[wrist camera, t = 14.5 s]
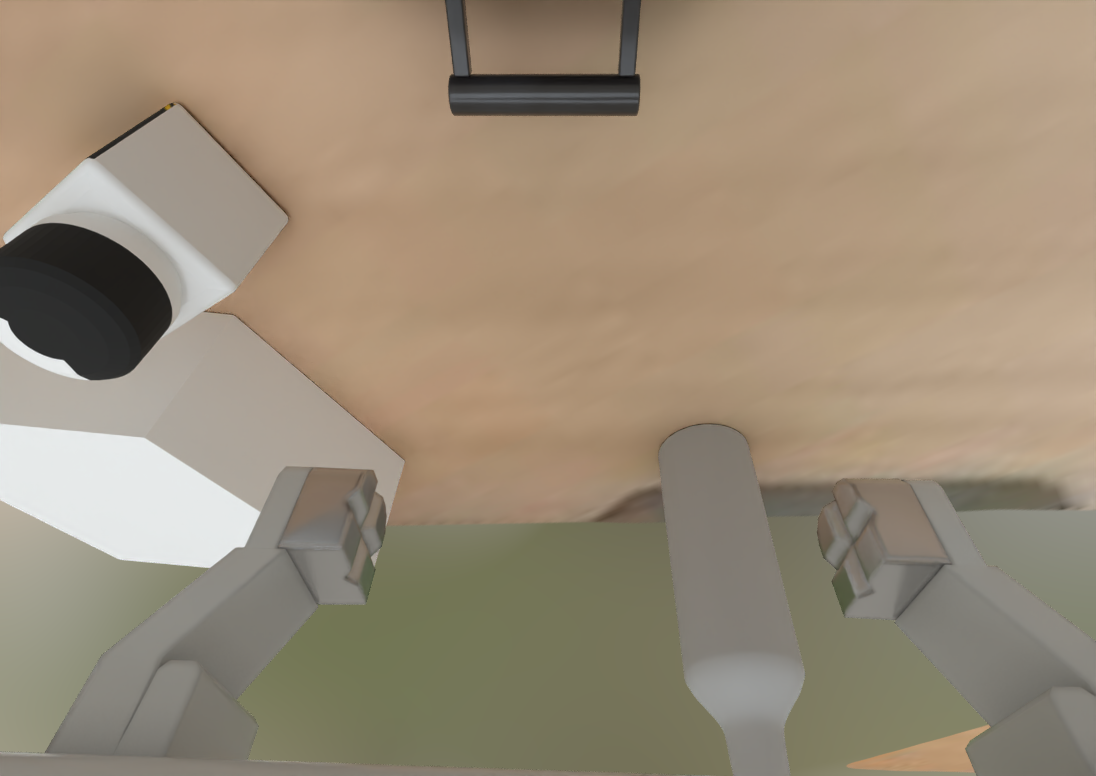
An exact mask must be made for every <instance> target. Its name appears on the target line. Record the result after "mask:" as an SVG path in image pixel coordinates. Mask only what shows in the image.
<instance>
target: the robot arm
mask: <svg viewBox="0 0 1096 776" xmlns="http://www.w3.org/2000/svg"><path fill="white" fill-rule="evenodd" d="M377 483H378V480H377V478H376V475H375V472H374V470H367V469H345V468H323V467H295V466H286V467H285V468H284V469H283V470H282V471H281V472H280V473H279V474H278V476H277V479H276V481H275V483H274V485H273V487H272V489H271V491H270V493H269V496H268V498H267V500H266V502H265V504H264V506H263V508H262V511H261V513H260V515H259V517H258V519H257V521H256V523H255V526H254V528H253V530H252V532H251V534H250V536H249V538H248V540H247V543H246V545H245V547H236V548H234V549H233V550H232V551H231V552H229V553H228V554H227V555H226V556H224V557H223V558H222V559H221V560H219V561H218V562H217V563H216V564H214V565H213V566H212V567H211V568H209V569H208V570H207V571H206V572H204V573H203V574H202V575H201V576H199V577H198V578H197V579H196V580H194V581H193V582H192V583H191V584H190V585H188V586H187V587H186V588H184V589H183V590H182V591H181V592H180V593H178V594H177V595H176V596H175V597H173V598H172V599H171V600H169V601H168V602H167V603H166V604H165V605H163V606H162V607H161V608H160V609H158V610H157V611H156V612H155V613H153V614H152V615H151V616H150V617H148V618H147V619H146V620H145V621H143V622H142V623H141V624H140V625H138V626H137V627H136V628H135V629H133V630H132V631H131V632H130V633H128V634H127V635H126V636H125V637H123V638H122V639H121V640H120V641H118V642H117V643H116V644H115V645H113V646H112V647H111V648H110V649H108V650H107V651H106V652H105V653H103V654H102V655H101V657H100V658H99V660H98V662H97V664H96V665H95V667H94V669H93V670H92V672H91V674H90V676H89V677H88V679H87V681H86V683H85V684H84V686H83V688H82V689H81V691H80V693H79V694H78V696H77V698H76V700H75V701H74V703H73V705H72V707H71V708H70V710H69V712H68V713H67V715H66V717H65V719H64V720H63V722H62V724H61V726H60V727H59V729H58V731H57V732H56V734H55V736H54V738H53V739H52V741H51V743H50V745H49V746H48V748H47V750H46V751H45V753H32V752H2V751H0V776H705V775H677V774H648V773H619V772H618V773H617V772H590V771H561V770H531V769H530V770H529V769H502V768H501V769H500V768H473V767H443V766H413V765H384V764H383V765H382V764H355V763H325V762H296V761H266V760H265V761H264V760H248V756H249V754H250V751H251V748H252V745H253V742H254V739H255V736H256V733H257V730H258V727H259V726H258V724H257V722H256V719H255V718H254V717H253V716H252V715H251V714H250V713H249V712H248V711H247V710H246V709H245V708H244V707H243V706H242V705H241V704H240V703H239V702H238V701H237V699H238V697H239V696H240V695H241V694H242V693H243V692H244V691H245V690H246V688H247V687H248V686H249V685H250V684H251V683H252V682H253V681H254V679H255V678H256V677H257V676H258V675H259V674H260V673H261V672H262V670H263V669H264V668H265V667H266V666H267V665H268V663H269V662H270V661H271V660H272V659H273V658H274V657H275V656H276V655H277V653H278V652H279V651H280V650H281V649H282V648H283V647H284V646H285V644H286V643H287V642H288V641H289V640H290V639H291V638H292V636H293V635H294V634H295V633H296V632H297V631H298V630H299V629H300V627H301V626H302V625H303V624H304V623H305V622H306V621H307V620H308V618H309V617H310V616H311V615H312V614H313V613H314V612H315V610H316V609H317V608H318V605H317V604H366V602H367V599H368V595H369V591H370V588H371V584H372V580H373V577H374V573H375V567H374V565H373V562H372V559H371V557H372V556H373V555H374V554H375V553H376V552H377V551H378V550H379V549H380V548H381V547H382V543H383V539H384V535H385V529H386V518H387V515H386V505H385V502H384V499H383V496H381V495H380V494H378V493H377V492H376V491H375V490H376V486H377ZM832 493H833V496H834V498H835V500H834V501H832V502H831V503H829V504H827V505H825V506H824V507H823V509H822V511H821V513H820V516H819V518H818V528H817V529H818V530H817V535H818V540H819V546H820V549H821V552H822V555H823V558H824V559H825V560H826V561H827V562H829V563H830V564H831V565H832V566H833V567H834V568H835V569H836V572H835V575H834V577H833V579H832V584H833V586H834V589H835V592H836V595H837V598H838V600H839V603H840V606H841V609H842V612H843V614H844V617H848V618H866V619H885V620H896V621H895V624H896V625H897V626H898V627H899V628H900V629H901V630H902V631H903V632H904V633H905V634H906V636H907V637H908V638H909V639H910V640H911V641H912V642H913V643H914V644H915V645H916V646H917V648H918V649H919V650H921V652H922V653H923V654H924V655H925V656H926V657H927V658H928V659H929V660H930V661H931V663H932V664H933V665H934V666H935V667H936V668H937V669H938V670H939V671H940V672H941V673H942V675H943V676H944V677H945V678H946V679H947V680H948V681H949V682H950V683H951V684H952V685H953V686H954V687H955V689H956V690H957V691H958V692H959V693H960V694H961V695H962V696H963V697H964V698H965V699H966V700H967V702H968V703H969V704H970V705H971V706H972V707H973V708H974V709H975V710H976V711H977V712H978V713H979V714H980V716H981V717H982V718H983V719H984V720H985V721H986V722H987V723H988V724H989V725H990V726H991V727H990V728H989V729H987V730H986V731H984V732H983V733H981V734H980V735H978V736H977V737H975V738H974V739H972V740H971V741H970V742H969V743H968V745H967V747H966V748H965V749H966V752H967V754H968V757H969V759H970V761H971V764H972V766H973V768H974V771H975V773H976V775H977V776H1096V641H1095V640H1094V639H1093V638H1091V637H1090V636H1089V635H1087V634H1086V633H1085V632H1083V631H1082V630H1081V629H1079V628H1078V627H1077V626H1075V625H1074V624H1073V623H1071V622H1070V621H1069V620H1067V619H1066V618H1065V617H1063V616H1062V615H1061V614H1059V613H1058V612H1057V611H1055V610H1054V609H1053V608H1051V607H1050V606H1049V605H1047V604H1046V603H1045V602H1043V601H1042V600H1041V599H1039V598H1038V597H1037V596H1035V595H1034V594H1033V593H1032V592H1030V591H1029V590H1027V589H1026V588H1025V587H1024V586H1022V585H1021V584H1020V583H1018V582H1017V581H1016V580H1014V579H1013V578H1012V577H1010V576H1009V575H1008V574H1006V573H1005V572H1003V571H1002V570H1001V569H999V568H998V567H997V566H987V564H986V563H985V561H984V559H983V558H982V556H981V554H980V552H979V551H978V549H977V547H976V546H975V544H974V542H973V540H972V539H971V537H970V535H969V533H968V532H967V530H966V528H965V526H964V525H963V523H962V521H961V520H960V518H959V516H958V515H957V513H956V511H955V509H954V508H953V506H952V504H951V502H950V501H949V499H948V497H947V495H946V494H945V492H944V490H943V489H942V487H941V486H940V485H939V484H938V483H937V482H935V481H934V480H900V479H848V478H843V479H841V480H840V481H838V482H837V483H836V485H835V486H834V488H833V490H832ZM706 776H708V775H706Z"/></svg>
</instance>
